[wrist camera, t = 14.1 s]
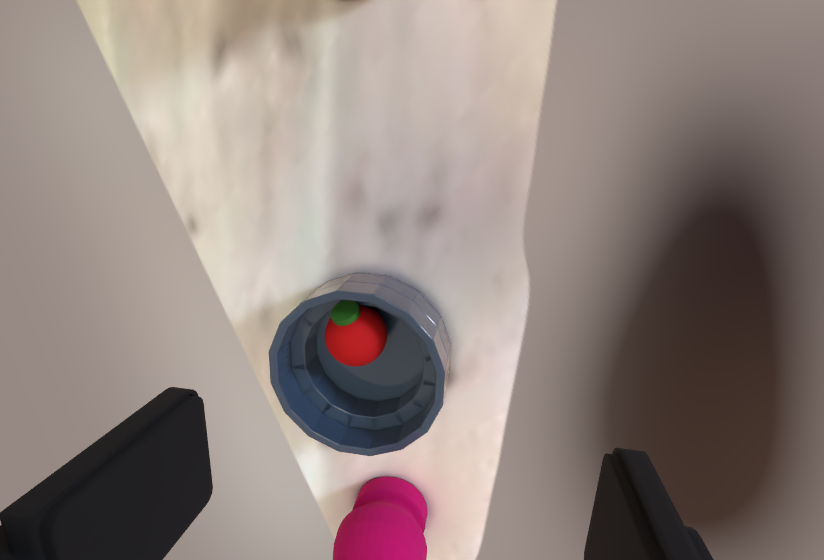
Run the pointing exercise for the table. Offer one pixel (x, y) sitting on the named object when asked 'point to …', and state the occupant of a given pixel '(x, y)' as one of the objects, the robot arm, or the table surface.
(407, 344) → the bowl
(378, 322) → the strawberry
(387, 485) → the pepper mill
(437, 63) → the table surface
